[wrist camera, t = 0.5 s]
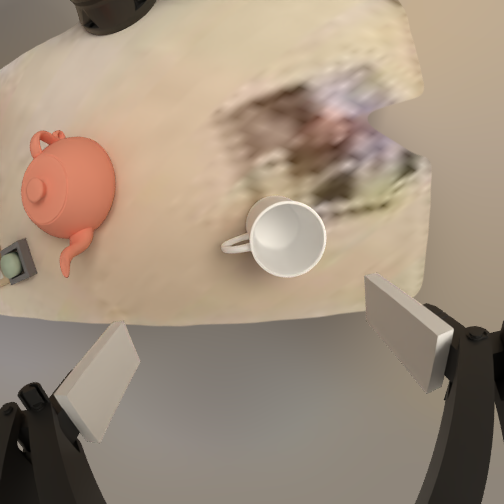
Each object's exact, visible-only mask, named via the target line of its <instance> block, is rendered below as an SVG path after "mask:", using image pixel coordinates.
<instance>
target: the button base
mask: <svg viewBox="0 0 504 504" xmlns="http://www.w3.org/2000/svg"><path fill="white" fill-rule="evenodd" d="M16 249H17V251H18V254H19V257H20V260H21V263H22V266H23V269H24V272H25V273H24V274H22V275H20V276H19V274H18V275H16V276H14V277H12V278H10V279H9V280H10V283H11V285H13V284H15V283H17V282H20V281H22V280H24V279H26V278H29V277H31V276H33V275H35V274H37V271H36V268H35V265H34V262H33V259H32V256H31V253H30V250H29V247H28V244H27V240H26V238H25V239H22V240H19V241H17V242H15V243H13V244H12V245H10V246H8V247H7V248H5V249H3V250H2V251H0V253H1V257H2V256H4V255H6V254H9V253H11V252H13V251H14V250H16Z"/></svg>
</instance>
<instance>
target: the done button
mask: <svg viewBox="0 0 504 504" xmlns="http://www.w3.org/2000/svg"><path fill="white" fill-rule="evenodd" d="M0 266H1V270H2V272H3V274H4V276H5V277H6V278H8V279H10V278H12V277H14V276H16V275H18V274H20V273H22V271H23V266H22V263H21V260H20V257H19V254H18V253H17V252H11V253H9V254H6V255H4V256H2V258H1V261H0Z"/></svg>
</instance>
